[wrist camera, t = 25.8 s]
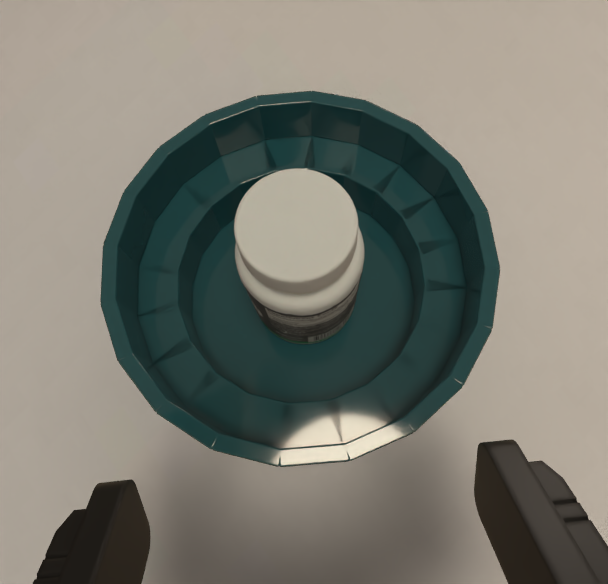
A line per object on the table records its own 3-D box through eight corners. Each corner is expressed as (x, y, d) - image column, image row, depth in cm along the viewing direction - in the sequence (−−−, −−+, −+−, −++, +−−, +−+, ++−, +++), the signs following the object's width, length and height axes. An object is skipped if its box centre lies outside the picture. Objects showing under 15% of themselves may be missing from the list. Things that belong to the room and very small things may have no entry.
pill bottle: (266, 245, 25) (239, 146, 17) (361, 260, 24) (381, 165, 16) (245, 337, 23) (206, 278, 15) (346, 355, 23) (360, 303, 15)
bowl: (283, 539, 21) (270, 567, 16) (88, 284, 25) (27, 240, 20) (526, 312, 24) (584, 273, 19) (317, 112, 28) (316, 33, 23)
